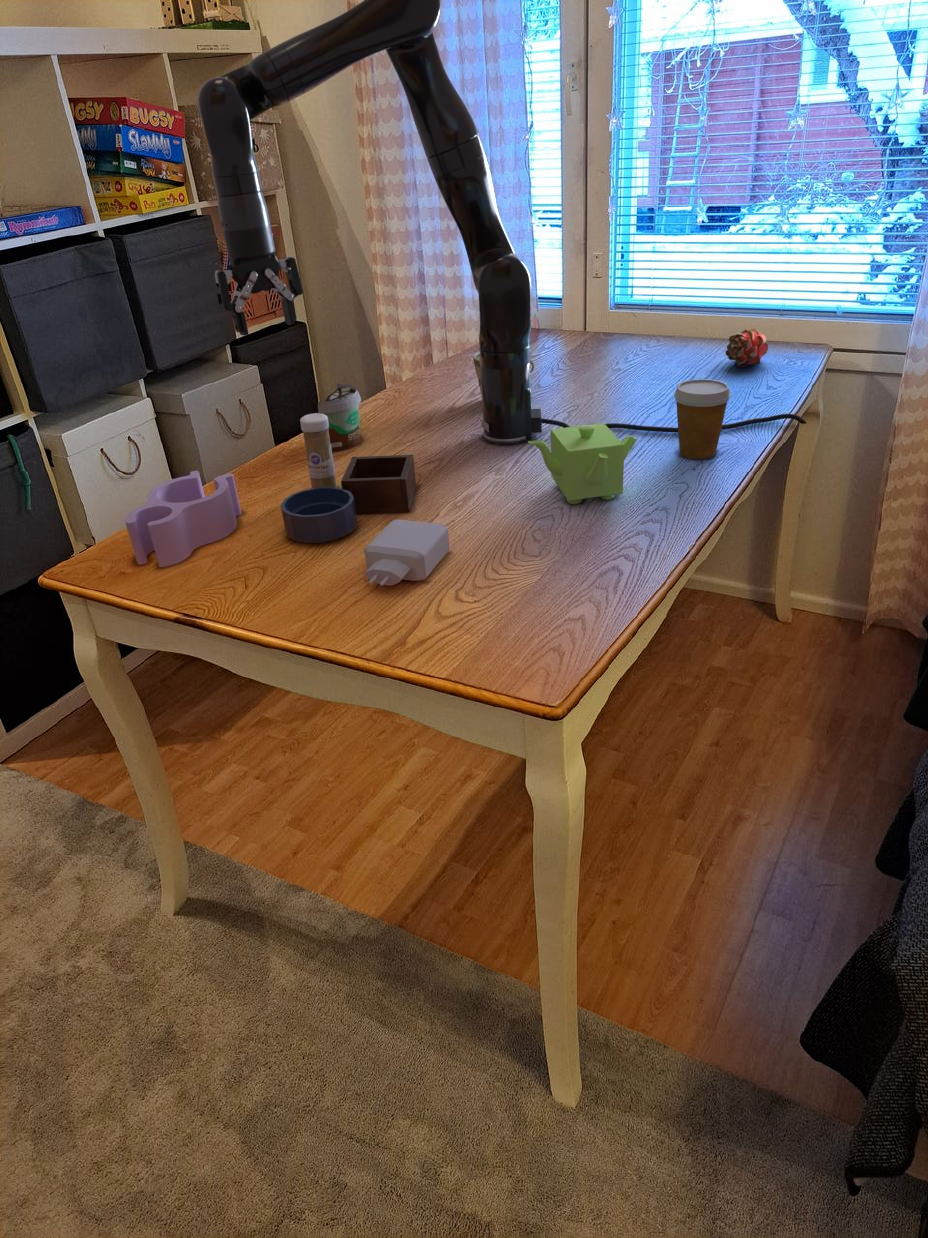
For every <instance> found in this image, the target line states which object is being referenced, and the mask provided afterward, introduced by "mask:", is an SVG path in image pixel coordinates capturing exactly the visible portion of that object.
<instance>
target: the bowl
mask: <svg viewBox="0 0 928 1238" xmlns="http://www.w3.org/2000/svg"><path fill="white" fill-rule="evenodd" d="M337 487H338V486H337ZM337 487H316V488H312V487H311V488H305V489H302V490H299V491H296V492H294V493H291V494H290V495H289V496H287V497H285V498H284V499H283V500H282V502H281V504H280V510H281V511H280V512H281V516H282V521H283V527H284V532H285V534H286V536H287V537H288V538H289V539H291V540H293V541H295V542H300V543H307V544H322V543H328V542H333V541H336V540H339V539H341V538H343V537H346V536H348V535H349V534H350V533H351V532H353V531H355V529H356V527H357V524H358V516H357V515H358V514H356V508H355V501H354V497H353V495H352V493H351V492H350V491H347V490H345V489H343V488H342V487H338V488H337Z"/></svg>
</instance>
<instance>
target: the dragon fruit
mask: <svg viewBox="0 0 928 1238" xmlns="http://www.w3.org/2000/svg"><path fill="white" fill-rule="evenodd" d="M728 342H729V343H728V344H727V345H726V350H725V356H727V358H728V360H730V361H735V363H736V366H739V367H740V368H745V367H747V365H751V366H760V363H761V359H763V358H764V356H765V355H766V354H767V352H768V351H769V344H768V342H767V338H766V336H765V334H764V333H762V332H760V331H759V330H758V329H756V328H752V329H744V330H742V331H740V332H738V333H736V334H733V335H730V336H729V337H728Z"/></svg>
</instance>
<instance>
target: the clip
mask: <svg viewBox="0 0 928 1238" xmlns="http://www.w3.org/2000/svg"><path fill="white" fill-rule="evenodd" d="M213 484H214V488H215V491H214V492H213V493H211V494H209V495H205V491H204V488H203V484H202V480H201V475H200V471H199V470H192V471H190V472H189V475H184V476H180V477H176V478H171V479H169V480H167V481H164V482H161V483H160V484H158V485H156V486H154V487H153V488H152V489H150V491H149V492H148V493H147V496H146V497H147V501H146V502H145V503H144V504H143V505H141V506H138V507H136V508H134V509H133V510H131V511H129V512H128V513H127V514H126V515H125V517H124V522H125V526H126V529H127V533H128V537H129V539H130V540H129V541H130V542H131V546H132V550H133V554H134V557H135V561H136V563H137V564H138V565H139V566H142V565H146V564H147V563H148V555H150V554H151V553H153V552H154V553H155V556H156V557H155V558H156V561H157V564H158V567H159V568H166V567H170V566H173V565H176V564H179V563H182V562H183V561H185V560H186V559H188V558H189V557H190V556H191V555H192V553H193V551H194V550H196V549H197V548H199V547H202V546H205V545H208V544H211V543H214V542H218V541H219V540H222V539H224V538H226V537H227V536H229V535H230V534H232V533H233V532H234V531H235V529H236V528H237V525H238V522H237V518H236V517H239V516H241V515H242V510H241V504H240V499H239V496H238V492H237V487H236V481H235V476H234V473H226V474H222V475H219V476H216V477H214V478H213Z"/></svg>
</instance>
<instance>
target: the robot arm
mask: <svg viewBox="0 0 928 1238" xmlns="http://www.w3.org/2000/svg"><path fill="white" fill-rule="evenodd" d="M440 14H441V0H363V1H361V2H360V3H358V4H356V5H355V6H354V7H352V8H350V9H348V10H347V11H345V12H343V13H342V14H340V15H337V16H336V17H334V18H332V19H330V20H328V21H326V22H324V23H322V24H320V25H317V26H315V27H313V28H310V29H308V30H306V31H304V32H301V33H299V34H297V35H295V36H293V37H290V38H289V39H287V40H284V41H283V42H280V43H279V44H277V45H275V46H273V47H270V48H269V49H267V50H266V51H264V52H262V53H260V54H258V55H257V56H255V57H254V58H253V59H251V60H250V61H249V62H248V63H246V64H244V65H242V66H240V67H238V68H235V69H233V70H231V71H229V72H226V73H225V74H222V75H220V76H218V77H213V78H210V79H208V80H206V81H205V82H204V83H203V84H202V86H201V88H200V89H199V91H198V93H197V97H196V110H197V114H198V116H199V118H200V119H201V122H202V126H203V130H204V134H205V139H206V142H207V146H208V151H209V154H210V166H211V173H212V179H213V183H214V188H215V193H216V196H217V206H218V215H219V219H220V226H221V229H222V233H223V237H224V242H225V247H226V250H227V255H228V256H227V257H228V260H229V263H230V266H229V267H230V268H229V269H227V270H218V269H217V270H216V269H215V270H213V271H212V276H213V277H212V278H213V283H214V289H215V294H216V301H217V306H218V308H219V309H220V310H224V311H228V312H230V313H231V316H232V320H233V321H232V322H233V325H234V329H235V331H236V332H237V333H239V334H240V336H244V337H245V336H248V335H249V329H248V324H247V319H246V315H245V311H243V309H244V306H245V304H246V302H247V300H249V298H250V295H251V294H252V295H254V294H259V293H261V292H269V291H274V292H275V293H276V294H277V295H278V296H279V297H280V298H281V299H282V301H280V302H281V307H282V312H283V317H284V322H285V324H286V325H287V326H292V325H295V324H296V323H295V321H297V313H296V307H295V303H294V300H295V299H296V298H297V297H298V296H301V295H303V293H304V290H303V285H302V281H301V277H300V273H299V268H298V264H297V260H296V258H294V257H291V256H284V257H282V258H281V259H279V258H278V257H277V255H276V246H275V242H274V237H273V236H274V235H273V230H272V225H271V220H270V215H269V210H268V206H267V202H266V199H265V197H264V193H263V192H264V191H263V188H262V183H261V178H260V172H259V168H258V164H257V161H256V157H255V152H254V144H253V136H252V128H251V121H252V120H253V119H255V118H257V117H259V116H260V115H262V114H263V113H265V112H267V111H269V110H271V109H274V108H278V107H281V106H283V105H285V104H287V103H290V102H291V101H293V100H295V99H296V98H299V97H301V96H303V95H305V94H306V93H308V92H310V91H312V90H313V89H316V88H317V87H319V86H321V85H322V84H324V83H326V82H327V81H329V80H330V79H331V78H333V77H335V76H336V75H338V74H340V73H342V72H343V71H345V70H346V69H348V68H350V67H351V66H353V65H355V64H357V63H359V62H361V61H362V60H365V59H366V58H368V57H371V56H372V55H375V54H378V53H381V52H382V51H385V52H386V54H387V56H388V57H389V60H390V62H391V64H392V66H393V68H394V71H395V72H396V74H397V75H396V76H398V79H399V81H400V83H401V86H402V88H403V90H404V91H403V92H404V93H405V96H406V99H407V102H408V105H409V109H410V113H411V115H412V119H413V122H414V125H415V127H416V131H417V134H418V137H419V139H420V143H421V145H422V147H423V151H424V153H425V157H426V159H427V162H428V165H429V167H430V170H431V173H432V175H433V178H434V181H435V183H436V184H437V187H438V190H439V192H440V194H441V196H442V199H443V200H444V203H445V205H446V207H447V209H448V211H449V212H450V214H451V216H452V218H453V221H454V222H455V225H456V226H457V228H458V231H459V233H460V236H461V239H462V243H463V245H464V249H465V252H466V256H467V259H468V263H469V267H470V271H471V275H472V279H473V284H474V287H475V289H476V292H477V294H478V310H479V332H478V349H479V351H478V352H480V370H481V389H482V395H481V403H482V405H481V406H482V407H481V408H482V419H480V422H481V423H480V425H481V428H482V430H483V439H484V440H485V442H488V443H491V444H496V445H514V444H515V445H516V444H520V443H525V442H529V441H533V434H537V433H538V434H539V433H543V425H542V424H546V425H552V426H557V427H560V428H566V427H572V426H571V425H569V424H568V423H566V422H563V421H561V420H555V419H550V418H544V417H542V415H543V414H542V408H532V406H533V405H532V383H531V381H532V380H531V373H530V371H531V363H530V360H531V348H530V346H531V345H530V343H531V341H530V337H531V331H532V281H531V275H530V271H529V270H528V269H529V268H528V267H527V266H526V264H525V263H524V262H523V261H522V260H521V259H520V258H519V257H518V255H517V254H516V252H515V250H514V248H513V246H512V243H511V241H510V239H509V237H508V234H507V231H506V230H505V227H504V225H503V223H502V220H501V217H500V213H499V210H498V205H497V199H496V194H495V187H494V181H493V177H492V176H493V175H492V172H491V168H490V164H489V160H488V157H487V154H486V151H485V148H484V145H483V142H482V139H481V136H480V134H479V131H478V128H477V125H476V123H475V122H474V119H473V117H472V114H471V113H470V112H469V109H468V107H467V106H466V104H465V102H464V101H463V99H462V97H461V96H460V94H459V92H458V91H457V89H456V88H455V86H454V85H453V82H451V80H450V78H449V75H448V74H447V72H446V69H445V67H444V65H443V62H442V58H441V56H440V52H439V49H438V45H437V42H436V39H435V36H434V35H435V34H434V30H435V28H436V26H437V24H438V22H439V19H440ZM281 270H282V271H283V272H284V273H285V276H286V281H287V284H288V288H287V286H286V284H285V283H284V282H283V281H282V280H281V279H280V278H279V277H278V276H279V273H280V271H281ZM231 279H232V280H233V281H234V282H236V285H235V287H234V290H233V291H232V292H233V294H232V299H231V296H230V292H229V285H230V283H231ZM786 419H787V420H789V419H790V420H794V421H797V422H798V423H799V424H802V425H806V424H807V421H806V420H805V419H804V418H803V417H801V416H800V415H797V414H794V413H780V414H775V415H771V416H765V417H764V416H763V417H757V418H750V419H745V420H741V421H737V422H733V423H723V424H722V428H721V431H725V430H730V429H736V428H740V427H745V426H750V425H754V424H760V423H761V424H762V423H768V422H774V421H778V420H786ZM604 424H605V425H606V426H607V427H608V428H609V429H626V430H634V431H642V432H643V431H644V432H657V433H658V432H660V433H677V434H678V427H674V426H673V427H672V426H671V427H668V426H654V425H653V426H652V425H651V426H650V425H641V424H631V423H620V422H619V423H617V422H609V423H608V422H607V423H604Z"/></svg>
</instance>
